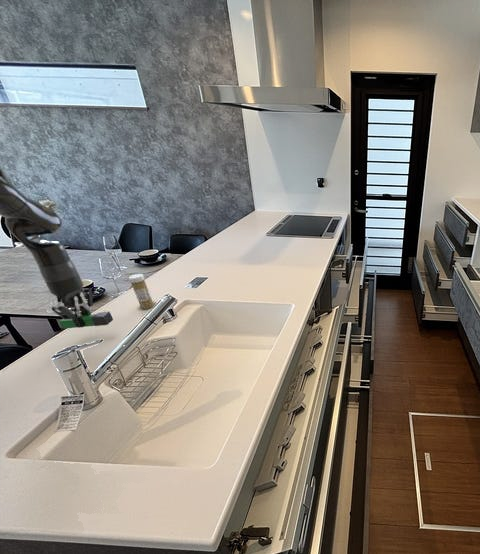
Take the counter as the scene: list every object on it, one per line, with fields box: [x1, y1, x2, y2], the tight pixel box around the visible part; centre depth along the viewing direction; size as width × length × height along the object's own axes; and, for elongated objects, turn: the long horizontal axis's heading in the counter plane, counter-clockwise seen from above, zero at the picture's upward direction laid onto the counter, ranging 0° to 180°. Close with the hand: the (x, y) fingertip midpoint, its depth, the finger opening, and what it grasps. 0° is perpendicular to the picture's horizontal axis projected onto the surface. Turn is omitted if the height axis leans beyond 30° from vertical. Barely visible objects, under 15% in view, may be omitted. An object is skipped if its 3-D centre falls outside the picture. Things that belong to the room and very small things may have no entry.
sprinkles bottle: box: [128, 273, 155, 310], centre depth 119 cm, size 5×5×14 cm
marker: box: [58, 311, 114, 330], centre depth 98 cm, size 13×3×3 cm, turn 98°
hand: (85, 323), depth 99 cm, fingers closed on marker, 2 cm apart
